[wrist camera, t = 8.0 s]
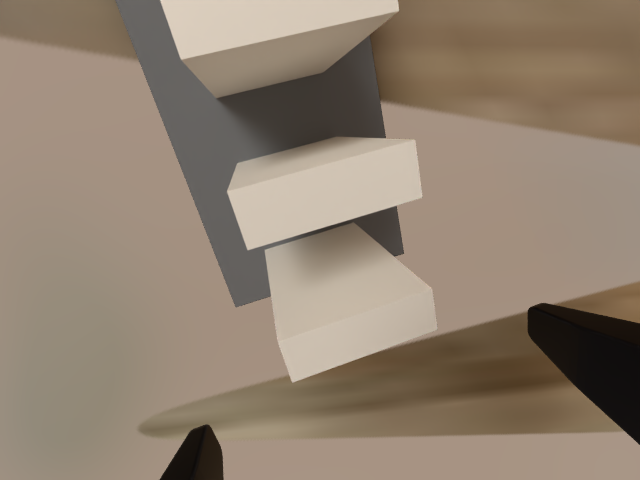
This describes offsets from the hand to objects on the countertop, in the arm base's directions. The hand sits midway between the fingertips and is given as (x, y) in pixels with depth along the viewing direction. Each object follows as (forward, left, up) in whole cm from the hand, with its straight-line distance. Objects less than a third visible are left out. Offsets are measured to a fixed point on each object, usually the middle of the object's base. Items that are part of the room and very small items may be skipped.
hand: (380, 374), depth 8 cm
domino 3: (0, 0, -10) cm, 10 cm away
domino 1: (0, -9, -10) cm, 13 cm away
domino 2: (0, -5, -10) cm, 11 cm away
